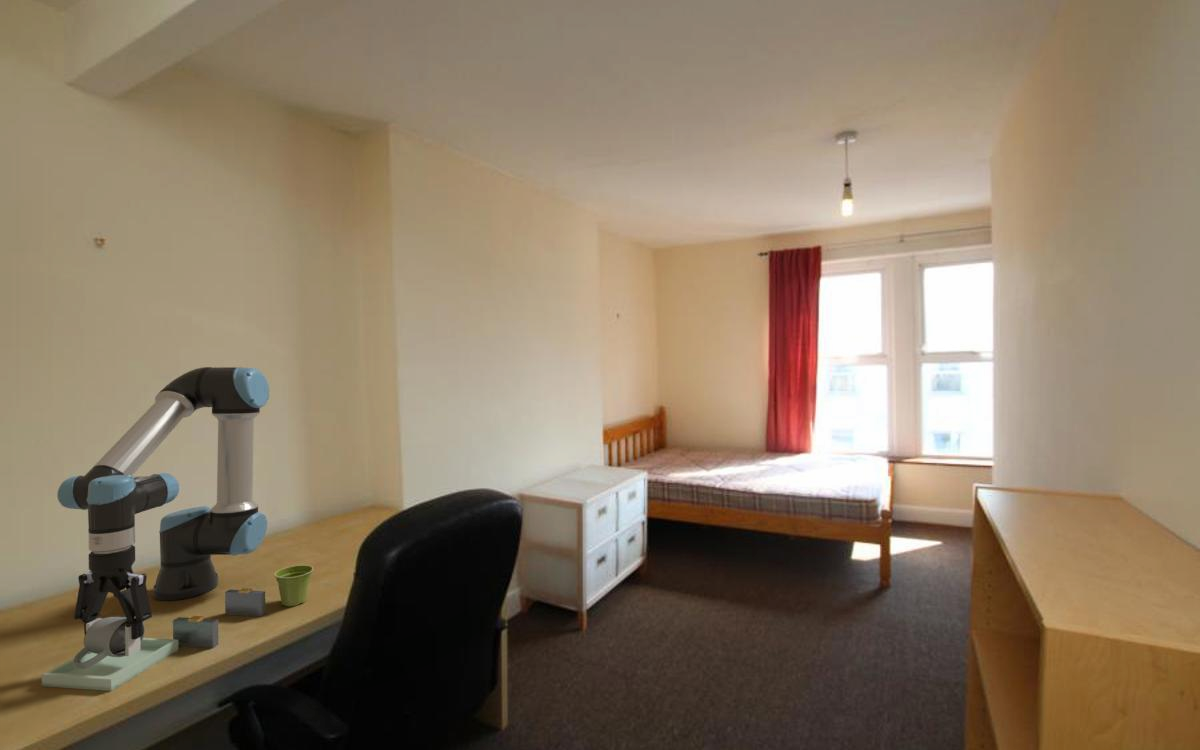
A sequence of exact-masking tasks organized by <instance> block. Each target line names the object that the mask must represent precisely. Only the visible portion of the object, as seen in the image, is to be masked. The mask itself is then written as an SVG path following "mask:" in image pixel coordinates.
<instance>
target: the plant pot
mask: <svg viewBox="0 0 1200 750" xmlns="http://www.w3.org/2000/svg"><path fill="white" fill-rule="evenodd" d="M313 571H314V567H313V566H311V565H308V564H298V565H291V566H287V567H283V568H280V569H279V570H277V571H275V572H274V578H276V582H277V583H278V585H277V587H278V591H279V597H280V602H281V606H284V607H295V606H299V605H300V604H301V603H302V604H303V603H305V602H306V601H308V600H307V599H308V595H309V594H308V593H309V586H310V581H311V576H312V573H313Z"/></svg>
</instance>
